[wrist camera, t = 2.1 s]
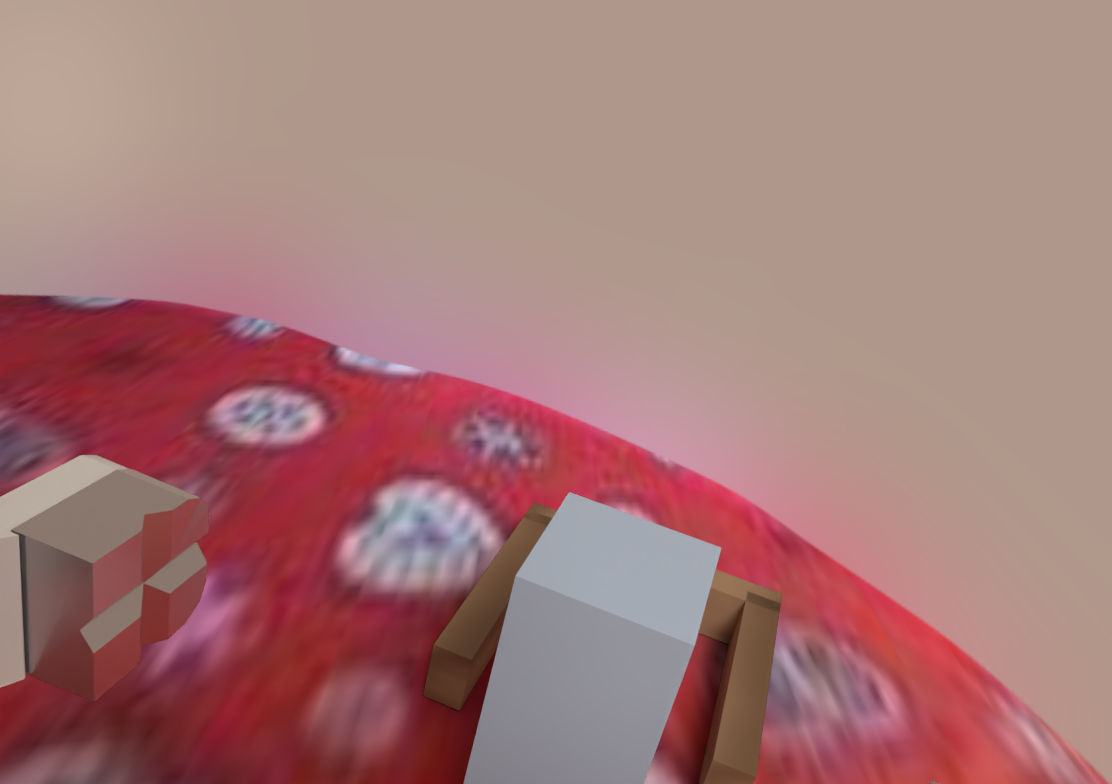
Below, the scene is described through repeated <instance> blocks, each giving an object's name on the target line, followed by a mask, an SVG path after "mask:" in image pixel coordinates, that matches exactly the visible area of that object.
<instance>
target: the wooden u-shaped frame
mask: <svg viewBox="0 0 1112 784" xmlns="http://www.w3.org/2000/svg"><path fill="white" fill-rule="evenodd" d="M556 512H557V511H556V510H553V509H551V508H548V507H545V506H543V505H540V504H537V503H535V502H534V503H533V505H532V506H531V507H530V509H529V510H528V512H527V513H526V515H525V516H524V517H523V519H522V520H521V522H520V523H519V524H518V526H517V527H516V529H515V530H514V532H513V533H512V534H511V536H510V537H509V539H508V540H507V541H506V543H505V544H504V546H503V547H502V549H501V550H500V551H499V553H498V554H497V556H496V557H495V558H494V560H493V561H492V563H491V564H490V566H489V567H488V568H487V570H486V571H485V573H484V574H483V575H482V577H481V578H480V580H479V581H478V583H477V584H476V585H475V587H474V588H473V590H472V591H471V592H470V594H469V595H468V597H467V598H466V600H465V601H464V602H463V604H462V605H461V607H460V608H459V609H458V611H457V612H456V614H455V615H454V617H453V618H452V619H451V621H450V622H449V624H448V625H447V626H446V628H445V629H444V631H443V632H442V634H441V635H440V636H439V638H438V639H437V641H436V642H435V643H434V646H433V651H432V655H431V660H430V665H429V670H428V674H427V679H426V684H425V689H424V693H423V696H425V697H427V698H430V699H432V700H434V701H437V702H439V703H441V704H444V705H446V706H448V707H451V708H453V709H455V710H458V711H460V710H461V708H462V706H463V705H464V703H465V701H466V700H467V698H468V696H469V694H470V693H471V691H472V689H473V688H474V686H475V684H476V683H477V681H478V679H479V678H480V676H481V674H482V673H483V671H484V669H485V668H486V666H487V664H488V663H489V661H490V659H491V658H492V656H493V654H494V653H495V651H496V649H497V648H498V644H499V640H500V636H501V632H502V628H503V624H504V620H505V616H506V612H507V608H508V604H509V600H510V596H511V592H512V588H513V584H514V580H515V576H516V574H517V573H518V571H519V570H520V568H521V566H522V565H523V563H524V562H525V560H526V559H527V557H528V556H529V554H530V552H531V551H532V549H533V548H534V546H535V545H536V543H537V542H538V540H539V538H540V537H541V535H542V534H543V532H544V531H545V529H546V528H547V526H548V525H549V523H550V521H551V520H552V518H553V517H554V515H555V514H556ZM781 598H782V594H780V593H777V592H775V591H772V590H769V589H767V588H764V587H761V586H758V585H756V584H753V583H750V582H748V581H745V580H742V579H740V578H737V577H734V576H732V575H729V574H726V573H723V572H721V571H718V570H715V573H714V577H713V581H712V584H711V588H710V592H709V595H708V599H707V602H706V606H705V610H704V613H703V617H702V621H701V624H700V628H699V632H698V633H700V634H703V635H705V636H708V637H711V638H713V639H716V640H718V641H721V642H724V643H726V644H729V645H728V650H727V654H726V659H725V663H724V668H723V672H722V677H721V682H720V686H719V691H718V695H717V700H716V704H715V709H714V714H713V718H712V723H711V727H710V732H709V736H708V741H707V746H706V750H705V755H704V759H703V764H702V768H701V773H700V778H699V782H698V784H753V783H754V781H755V778H756V773H757V766H758V759H759V752H760V745H761V738H762V731H763V724H764V717H765V710H766V703H767V696H768V689H769V682H770V675H771V668H772V661H773V654H774V647H775V640H776V633H777V626H778V619H779V612H780V605H781Z"/></svg>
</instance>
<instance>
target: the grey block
mask: <svg viewBox="0 0 1112 784" xmlns="http://www.w3.org/2000/svg"><path fill="white" fill-rule="evenodd" d="M720 551H721V548H720V547H718V546H715V545H712V544H710V543H707V542H704V541H701V540H699V539H696V538H693V537H690V536H688V535H685V534H682V533H679V532H677V531H674V530H671V529H669V528H666V527H663V526H660V525H658V524H655V523H652V522H649V521H647V520H644V519H641V518H639V517H636V516H633V515H630V514H628V513H625V512H622V511H619V510H617V509H614V508H611V507H609V506H606V505H603V504H600V503H598V502H595V501H592V500H589V499H587V498H584V497H581V496H578V495H576V494H573V493H570V492H569V493H568V495H567V497H566V498H565V500H564V501H563V503H562V504H561V506H560V507H559V509H558V511H557V512H556V514H555V515H554V517H553V518H552V520H551V521H550V523H549V525H548V526H547V528H546V529H545V531H544V532H543V534H542V535H541V537H540V538H539V540H538V542H537V543H536V545H535V546H534V548H533V549H532V551H531V552H530V554H529V556H528V557H527V559H526V560H525V562H524V563H523V565H522V566H521V568H520V570H519V571H518V573H517V574H516V576H515V580H514V584H513V588H512V592H511V596H510V600H509V604H508V608H507V612H506V616H505V620H504V624H503V628H502V632H501V636H500V640H499V644H498V648H497V652H496V656H495V659H494V663H493V667H492V671H491V675H490V679H489V683H488V687H487V691H486V695H485V699H484V703H483V707H482V711H481V715H480V719H479V723H478V727H477V731H476V735H475V739H474V743H473V747H472V751H471V755H470V759H469V763H468V767H467V771H466V775H465V779H464V783H463V784H644V781H645V778H646V775H647V773H648V770H649V767H650V765H651V762H652V759H653V757H654V754H655V751H656V749H657V746H658V743H659V740H660V738H661V735H662V732H663V730H664V727H665V724H666V722H667V719H668V716H669V713H670V711H671V708H672V705H673V703H674V700H675V697H676V695H677V692H678V689H679V686H680V684H681V681H682V678H683V676H684V673H685V670H686V668H687V665H688V662H689V660H690V657H691V654H692V651H693V649H694V646H695V643H696V639H697V635H698V632H699V628H700V624H701V621H702V617H703V613H704V610H705V606H706V602H707V599H708V595H709V592H710V588H711V584H712V581H713V577H714V573H715V570H716V566H717V562H718V559H719V555H720Z"/></svg>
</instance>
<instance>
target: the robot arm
mask: <svg viewBox="0 0 1112 784" xmlns="http://www.w3.org/2000/svg"><path fill="white" fill-rule="evenodd" d="M208 532H209V506H208V505H207V504H206V503H205V502H204V501H203V500H202V498H200V497H198V496H195V495H193V494H190V493H188V492H186V491H183V490H181V489H178V488H176V487H174V486H171V485H169V484H166V483H164V482H162V481H159V480H157V479H154V478H152V477H149V476H147V475H145V474H142V473H140V472H137V471H135V470H133V469H128V468H126V467H124V466H121V465H119V464H116V463H114V462H112V461H109V460H107V459H104V458H102V457H99V456H97V455H80V456H78V457H76V458H74V459H72V460H71V461H69V462H67V463H65V464H63V465H61V466H59V467H57V468H55V469H53V470H51V471H49V472H47V473H45V474H43V475H42V476H40V477H38V478H36V479H34V480H32V481H30V482H28V483H26V484H24V485H22V486H20V487H18V488H16V489H14V490H13V491H11V492H9V493H7V494H5V495H3V496H1V497H0V688H1V687H3V686H6V685H9V684H12V683H14V682H17V681H20V680H23V679H25V678H26V674H27V675H30V676H32V677H34V678H37V679H39V680H42V681H44V682H46V683H49V684H51V685H54V686H56V687H59V688H61V689H63V690H66V691H68V692H71V693H73V694H76V695H78V696H80V697H83V698H85V699H88V700H90V701H93V702H94V701H96V700H97V699H98V698H99V697H100V696H101V695H103V694H104V693H105V692H106V691H107V690H109V689H110V688H111V687H112V686H113V685H114V684H116V683H117V682H118V681H119V680H120V679H121V678H123V677H124V676H125V675H126V674H127V673H129V672H130V671H131V670H132V669H133V668H134V667H136V666H137V665H138V664H139V661H140V654H141V647H142V646H144V645H148V644H151V643H155V642H159V641H162V640H166V639H168V638H169V637H171V636H172V635H173V634H174V633H175V632H176V631H177V630H178V629H179V628H181V627H182V626H183V625H184V624H185V623H186V621H187V620H188V618H189V617H190V615H191V614H192V612H193V611H194V609H195V607H196V606H197V604H198V603H199V601H200V599H201V596H202V592H203V589H204V586H205V583H206V574H207V562H206V560H205V558H204V556H203V554H202V552H201V550H200V548H199V546H198V544H197V542H198V541H199V540H200V539H201V538H202V537H204V536H205V535H206V534H207V533H208ZM930 784H939V783H936V782H933V781H932V782H931V783H930Z"/></svg>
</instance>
